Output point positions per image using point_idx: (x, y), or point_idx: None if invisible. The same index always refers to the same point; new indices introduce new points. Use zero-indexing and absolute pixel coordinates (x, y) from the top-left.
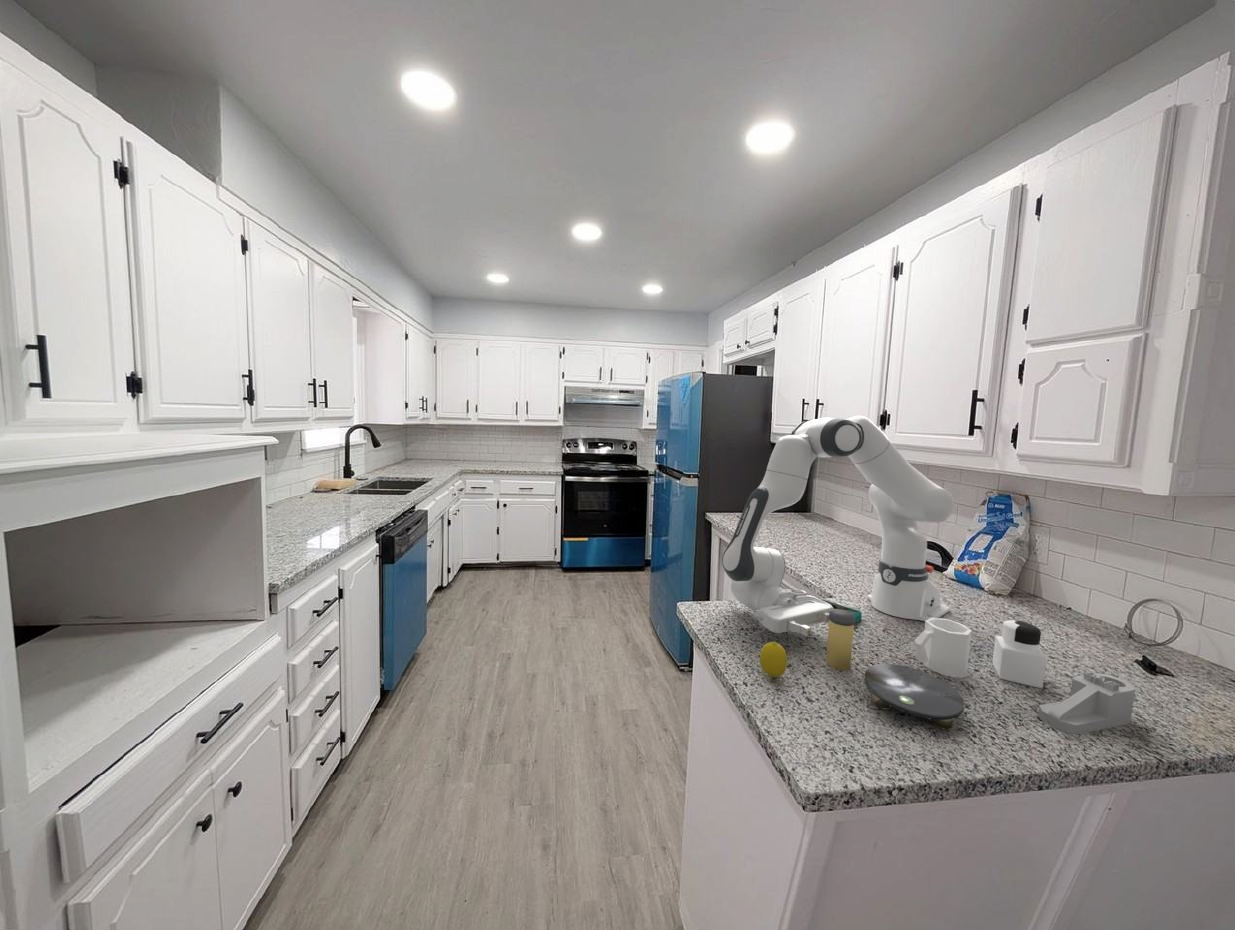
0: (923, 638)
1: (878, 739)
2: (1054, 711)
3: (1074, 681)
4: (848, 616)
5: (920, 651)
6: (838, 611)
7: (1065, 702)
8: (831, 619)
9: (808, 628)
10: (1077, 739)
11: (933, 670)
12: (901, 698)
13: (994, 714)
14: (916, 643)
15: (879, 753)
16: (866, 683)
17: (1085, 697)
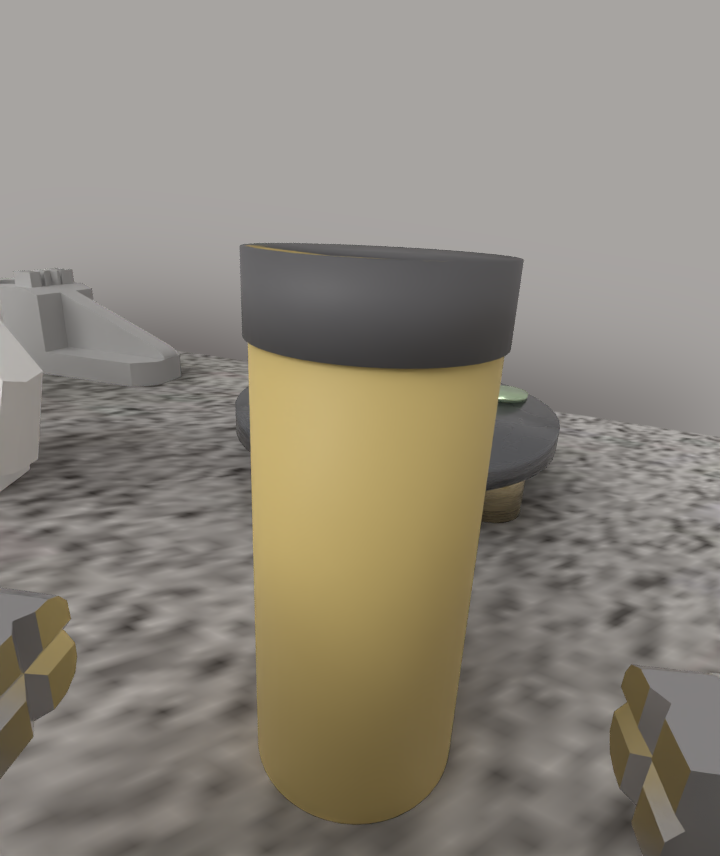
0: (10, 340)
1: (650, 470)
2: (162, 347)
3: (41, 299)
4: (378, 248)
5: (34, 412)
6: (353, 252)
7: (127, 328)
8: (512, 327)
9: (687, 672)
10: (194, 369)
11: (1, 490)
12: (516, 394)
13: (217, 408)
14: (23, 381)
15: (688, 460)
16: (536, 464)
17: (103, 307)
